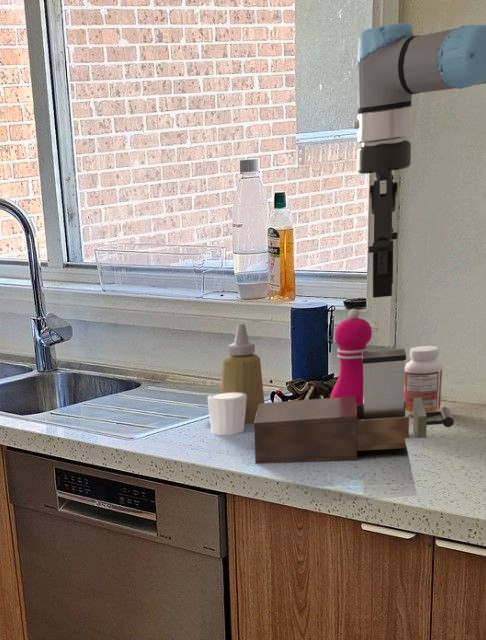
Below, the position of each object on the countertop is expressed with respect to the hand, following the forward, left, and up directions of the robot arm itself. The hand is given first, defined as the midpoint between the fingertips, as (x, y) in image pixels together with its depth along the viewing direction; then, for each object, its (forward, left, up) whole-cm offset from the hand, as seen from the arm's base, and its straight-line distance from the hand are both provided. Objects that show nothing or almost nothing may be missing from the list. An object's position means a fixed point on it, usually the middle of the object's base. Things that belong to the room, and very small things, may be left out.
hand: (383, 290), depth 189 cm
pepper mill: (+5, -13, -24) cm, 28 cm away
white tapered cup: (+26, -14, -24) cm, 38 cm away
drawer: (-1, +2, -23) cm, 24 cm away
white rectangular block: (0, +2, -22) cm, 22 cm away
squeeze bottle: (+24, -22, -24) cm, 41 cm away
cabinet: (+12, +2, -24) cm, 27 cm away
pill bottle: (-7, -21, -24) cm, 33 cm away
